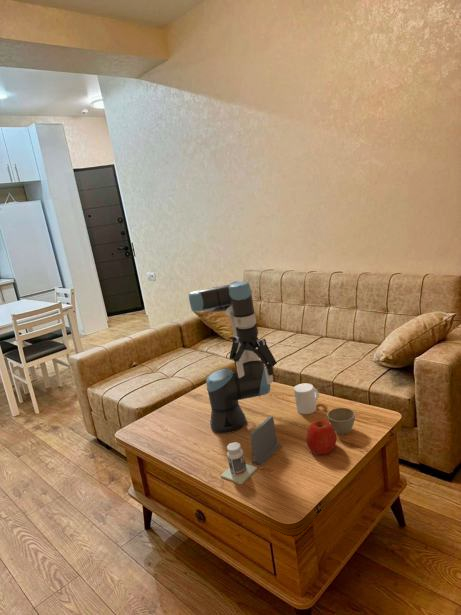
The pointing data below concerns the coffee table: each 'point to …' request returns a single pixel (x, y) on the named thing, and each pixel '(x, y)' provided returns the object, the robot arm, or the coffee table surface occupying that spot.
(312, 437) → the apple
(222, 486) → the coffee table surface
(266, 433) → the screen
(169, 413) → the coffee table surface
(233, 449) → the pill bottle
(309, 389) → the mug
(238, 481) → the mat
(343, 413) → the flower pot
